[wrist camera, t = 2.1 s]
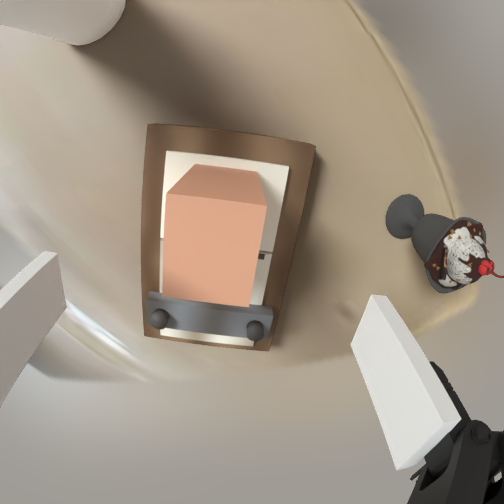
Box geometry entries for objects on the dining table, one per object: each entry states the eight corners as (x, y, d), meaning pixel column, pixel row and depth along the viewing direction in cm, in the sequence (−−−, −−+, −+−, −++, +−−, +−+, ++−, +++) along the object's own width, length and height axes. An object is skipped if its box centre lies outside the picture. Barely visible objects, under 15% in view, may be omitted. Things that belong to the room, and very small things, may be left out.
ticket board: (149, 322, 34) (137, 356, 28) (155, 123, 25) (134, 125, 19) (267, 337, 35) (271, 372, 30) (309, 143, 26) (326, 150, 21)
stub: (161, 235, 26) (122, 301, 17) (167, 150, 23) (120, 173, 14) (272, 249, 27) (288, 322, 18) (288, 166, 24) (319, 198, 15)
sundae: (439, 210, 29) (531, 273, 15) (404, 255, 31) (480, 339, 17) (404, 172, 27) (508, 224, 14) (366, 223, 29) (447, 306, 16)
